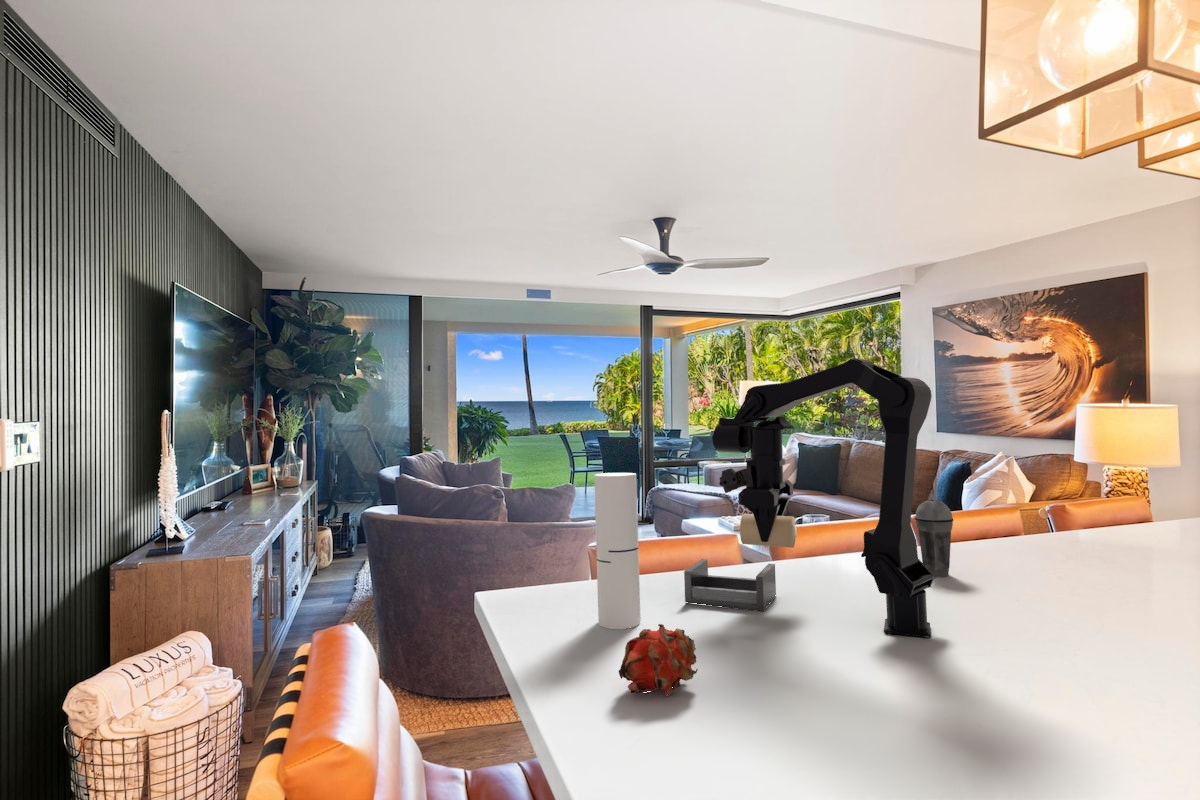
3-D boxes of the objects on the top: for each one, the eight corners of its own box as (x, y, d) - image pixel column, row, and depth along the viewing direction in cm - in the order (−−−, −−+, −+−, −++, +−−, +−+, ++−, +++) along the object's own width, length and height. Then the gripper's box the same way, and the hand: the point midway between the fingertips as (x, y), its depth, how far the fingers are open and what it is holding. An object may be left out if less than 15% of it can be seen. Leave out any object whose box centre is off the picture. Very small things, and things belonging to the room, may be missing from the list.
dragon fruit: (703, 691, 87) (629, 730, 80) (665, 640, 92) (593, 673, 86) (722, 651, 82) (646, 689, 76) (681, 600, 88) (606, 631, 81)
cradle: (776, 595, 126) (774, 564, 126) (764, 611, 116) (762, 576, 116) (702, 589, 132) (701, 559, 132) (685, 603, 122) (684, 571, 122)
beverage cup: (909, 573, 140) (905, 478, 141) (933, 569, 144) (929, 476, 144) (939, 580, 134) (935, 481, 135) (964, 575, 137) (959, 478, 138)
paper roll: (798, 544, 122) (797, 514, 122) (792, 550, 117) (792, 519, 117) (745, 540, 127) (745, 511, 127) (738, 546, 122) (737, 516, 122)
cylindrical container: (637, 629, 108) (632, 475, 109) (594, 628, 109) (590, 476, 110) (643, 617, 115) (639, 472, 116) (603, 615, 116) (598, 472, 117)
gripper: (736, 450, 134) (738, 527, 134) (709, 456, 118) (710, 545, 117) (792, 451, 129) (794, 531, 129) (772, 458, 113) (774, 550, 112)
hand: (768, 538), depth 122 cm, fingers closed on paper roll, 6 cm apart
